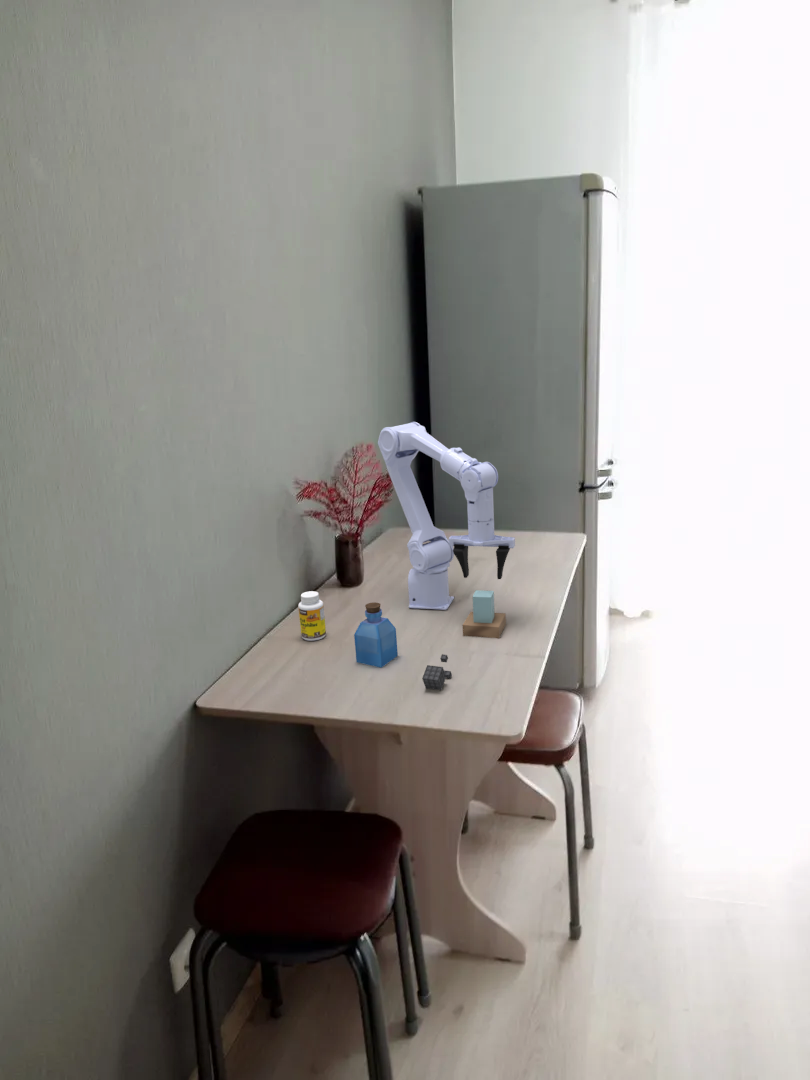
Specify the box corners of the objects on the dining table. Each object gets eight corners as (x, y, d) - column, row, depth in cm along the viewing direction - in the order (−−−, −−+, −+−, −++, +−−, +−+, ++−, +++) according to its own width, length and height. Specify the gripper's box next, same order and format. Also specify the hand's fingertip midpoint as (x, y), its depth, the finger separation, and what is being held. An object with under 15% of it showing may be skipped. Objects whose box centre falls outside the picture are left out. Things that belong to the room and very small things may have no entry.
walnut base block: (463, 637, 178) (462, 625, 177) (471, 623, 185) (470, 611, 185) (499, 640, 176) (498, 627, 175) (506, 625, 183) (505, 613, 182)
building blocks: (422, 678, 154) (434, 645, 159) (428, 695, 157) (440, 662, 162) (437, 680, 152) (449, 647, 157) (443, 697, 156) (455, 664, 161)
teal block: (473, 622, 178) (472, 596, 177) (476, 615, 182) (475, 590, 180) (491, 623, 177) (490, 597, 175) (494, 616, 181) (493, 590, 179)
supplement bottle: (297, 641, 181) (292, 597, 178) (307, 631, 186) (303, 589, 183) (320, 642, 180) (316, 599, 177) (330, 632, 185) (326, 590, 182)
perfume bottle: (381, 667, 165) (377, 612, 162) (356, 662, 169) (351, 608, 165) (397, 655, 170) (393, 602, 167) (373, 650, 174) (368, 598, 170)
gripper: (444, 522, 177) (447, 581, 181) (510, 524, 173) (512, 584, 177) (452, 514, 184) (454, 571, 188) (516, 515, 180) (517, 573, 183)
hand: (483, 577), depth 183 cm, fingers open, 7 cm apart
